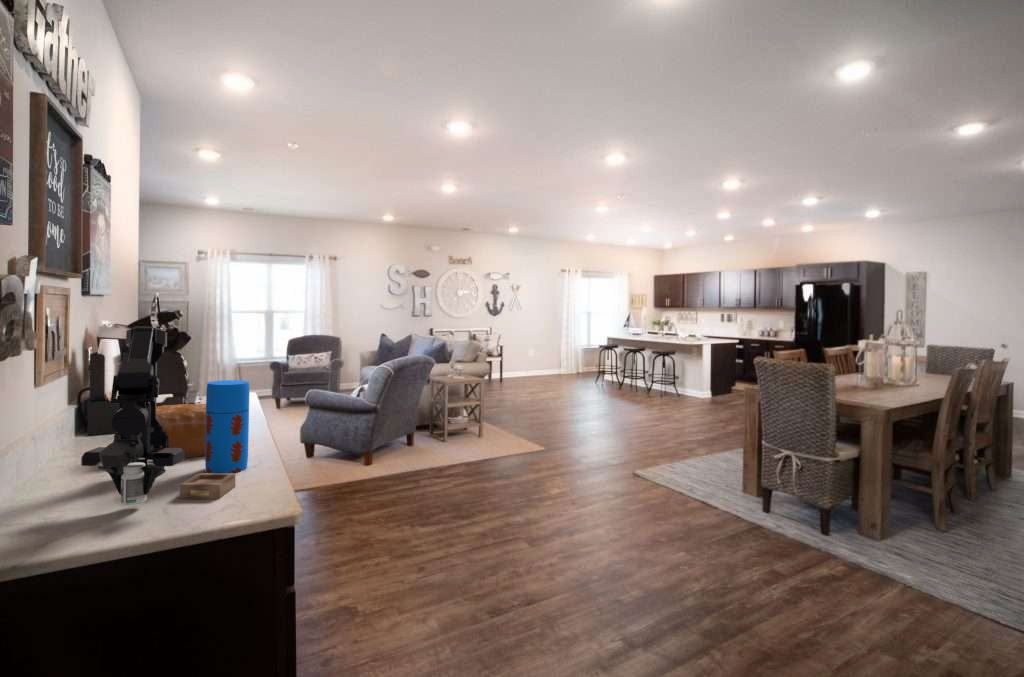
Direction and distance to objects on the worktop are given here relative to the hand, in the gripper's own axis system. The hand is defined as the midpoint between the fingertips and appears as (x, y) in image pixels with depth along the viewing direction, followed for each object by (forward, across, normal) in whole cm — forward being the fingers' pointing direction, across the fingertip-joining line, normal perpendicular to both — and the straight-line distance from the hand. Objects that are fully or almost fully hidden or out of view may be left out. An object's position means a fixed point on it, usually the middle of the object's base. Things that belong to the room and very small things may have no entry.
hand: (134, 494), depth 116 cm
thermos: (+4, +7, +31) cm, 32 cm away
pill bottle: (+2, 0, 0) cm, 2 cm away
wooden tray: (+3, +11, +11) cm, 16 cm away
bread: (+4, -14, +47) cm, 49 cm away
